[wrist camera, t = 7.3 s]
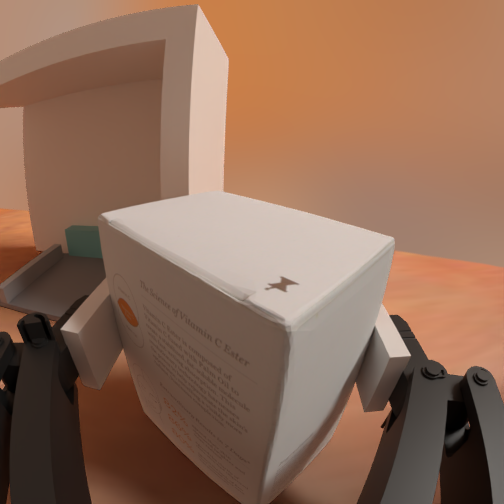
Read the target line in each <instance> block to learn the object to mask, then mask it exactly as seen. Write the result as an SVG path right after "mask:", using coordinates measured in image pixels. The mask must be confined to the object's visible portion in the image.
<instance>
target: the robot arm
mask: <svg viewBox="0 0 504 504" xmlns="http://www.w3.org/2000/svg"><path fill="white" fill-rule="evenodd" d="M17 327H18V329H19V332H20V334H21V336H22V339H23V341H24V343H13V341H12V339H11V337H10V335H9V334H8V333H6V332H0V381H1V380H2V381H3V383H4V384H5V387H4V389H3V390H2V389H1V388H0V504H6V500H7V494H8V488H9V483H10V496H11V504H92V503H91V498H90V494H89V489H88V483H87V478H86V472H85V466H84V459H83V452H82V444H81V434H80V423H79V409H78V390H77V386H76V384H75V381H76V379H77V377H78V376H79V377H80V379H81V381H82V383H83V385H84V386H87V387H90V388H94V389H97V390H100V389H101V387H102V386H103V384H104V382H105V380H106V378H107V376H108V374H109V372H110V371H111V369H112V367H113V365H114V363H115V361H116V360H117V358H118V356H119V354H120V352H121V351H122V349H123V346H122V342H121V339H120V335H119V331H118V327H117V323H116V319H115V315H114V311H113V307H112V302H111V298H110V293H109V288H108V283H107V278H105V279H104V280H103V281H102V282H101V283H100V285H99V286H98V287H97V288H96V289H95V290H94V291H93V292H92V293H91V295H90V296H89V295H84V296H83V297H81V298H79V299H78V300H76V301H75V302H74V303H73V304H72V305H71V306H70V309H68V310H67V311H66V312H65V314H63V315H62V316H61V318H60V319H59V320H58V321H57V322H56V323H55V324H54V326H53V327H51V324H50V321H49V319H48V316H47V315H46V314H44V313H41V312H35V313H31V314H28V315H26V316H24V317H23V318H22V319H20V320H19V322H18V324H17ZM356 384H357V388H358V391H359V395H360V399H361V402H362V406H363V409H364V412H372V411H381V410H384V408H385V406H386V404H387V403H388V401H389V402H390V404H391V407H392V409H391V411H390V413H389V415H388V416H387V418H386V419H385V421H384V423H383V424H382V426H381V428H384V426H385V428H384V431H383V434H382V437H381V441H380V444H379V447H378V450H377V453H376V456H375V459H374V461H373V464H372V467H371V470H370V472H369V475H368V477H367V480H366V483H365V485H364V487H363V490H362V492H361V495H360V497H359V499H358V502H357V504H432V503H433V498H434V494H435V490H436V485H437V480H438V475H439V470H440V488H441V504H504V404H503V401H502V398H501V395H500V393H499V390H498V387H497V385H496V382H495V379H494V377H493V376H492V374H491V373H490V372H489V371H488V370H486V369H484V368H482V367H478V366H474V367H471V368H469V369H468V370H467V372H466V374H465V375H464V376H458V375H450V374H448V373H447V371H446V369H445V368H444V367H443V366H442V365H441V364H440V363H438V362H435V361H433V360H428V358H427V356H426V354H425V353H424V351H423V349H422V347H421V346H420V344H419V342H418V341H417V339H416V338H415V336H414V334H413V332H411V329H410V327H409V326H408V324H407V322H406V321H404V320H403V319H402V318H401V317H400V316H398V315H389V314H388V313H387V311H386V309H385V307H384V306H383V304H382V303H381V307H380V310H379V314H378V317H377V320H376V323H375V326H374V329H373V332H372V336H371V339H370V342H369V345H368V348H367V351H366V354H365V357H364V360H363V363H362V366H361V369H360V371H359V374H358V377H357V379H356ZM468 422H469V424H470V427H469V424H468Z"/></svg>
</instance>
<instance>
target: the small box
mask: <svg viewBox="0 0 504 504" xmlns="http://www.w3.org/2000/svg"><path fill="white" fill-rule="evenodd" d="M98 228H99V235H100V242H101V250H102V256H103V261H104V267H105V272H106V278H107V283H108V288H109V293H110V298H111V302H112V307H113V311H114V315H115V319H116V323H117V327H118V331H119V335H120V339H121V342H122V346H123V349H124V353H125V356H126V359H127V363H128V366H129V369H130V373H131V376H132V379H133V382H134V385H135V388H136V391H137V394H138V397H139V399H140V402H141V405H142V408H143V411H144V413H145V414H146V415H147V416H148V417H149V418H150V419H151V420H152V421H153V422H154V423H155V425H156V426H157V427H158V428H159V429H160V430H161V431H162V432H163V433H164V434H165V435H166V436H167V437H168V438H169V439H170V441H171V442H172V443H173V444H174V445H175V446H176V447H177V448H178V449H179V450H180V451H181V452H182V453H183V454H184V455H185V456H187V457H188V458H189V459H190V460H191V461H192V462H193V463H194V464H195V465H196V466H197V467H198V468H199V469H200V470H201V471H203V472H204V473H205V474H206V475H207V476H208V477H209V478H210V479H212V480H213V481H214V482H215V483H216V484H218V485H219V486H220V487H221V488H222V489H224V490H225V491H226V492H227V493H229V494H230V495H231V496H232V497H234V498H235V499H236V500H237V501H239V502H240V503H241V504H269V503H270V502H271V501H272V500H273V499H275V498H276V497H277V496H278V495H279V494H280V493H281V492H282V491H283V490H284V489H285V488H286V487H287V486H288V485H289V484H290V483H291V482H292V481H293V480H294V479H295V478H296V477H297V476H298V475H299V474H300V473H301V472H302V471H303V470H304V469H305V468H306V467H307V466H308V465H309V464H310V463H311V461H312V460H313V459H314V458H315V457H316V456H317V455H318V454H319V453H320V451H321V450H322V449H323V448H324V447H325V446H326V444H327V443H328V442H329V441H330V440H331V438H332V436H333V434H334V432H335V429H336V427H337V425H338V423H339V421H340V419H341V416H342V414H343V412H344V409H345V407H346V404H347V402H348V400H349V397H350V395H351V392H352V390H353V387H354V384H355V382H356V379H357V377H358V374H359V371H360V369H361V366H362V363H363V360H364V357H365V354H366V351H367V348H368V345H369V342H370V339H371V336H372V332H373V329H374V326H375V323H376V320H377V317H378V314H379V310H380V307H381V303H382V300H383V296H384V292H385V288H386V284H387V280H388V276H389V272H390V268H391V263H392V258H393V254H394V246H395V240H394V238H393V237H390V236H386V235H383V234H380V233H376V232H373V231H369V230H366V229H363V228H359V227H356V226H352V225H348V224H345V223H342V222H338V221H335V220H332V219H328V218H325V217H321V216H318V215H314V214H310V213H306V212H303V211H299V210H295V209H291V208H287V207H284V206H280V205H276V204H271V203H268V202H264V201H260V200H255V199H251V198H248V197H243V196H239V195H235V194H231V193H226V192H222V191H210V192H203V193H198V194H192V195H187V196H182V197H177V198H171V199H166V200H161V201H156V202H150V203H146V204H141V205H136V206H132V207H127V208H123V209H118V210H114V211H110V212H106V213H102V214H101V215H99V217H98Z"/></svg>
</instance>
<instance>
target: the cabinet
mask: <svg viewBox="0 0 504 504" xmlns="http://www.w3.org/2000/svg"><path fill="white" fill-rule="evenodd" d="M228 64H229V59H228V57H227V55H226V53H225V52H224V50H223V48H222V46H221V44H220V42H219V41H218V39H217V37H216V35H215V33H214V31H213V30H212V28H211V26H210V24H209V23H208V21H207V19H206V17H205V16H204V14H203V12H202V10H201V9H200V7H199V5H198V4H197V5H186V6H177V7H169V8H162V9H155V10H149V11H143V12H139V13H134V14H128V15H124V16H120V17H115V18H111V19H107V20H104V21H100V22H97V23H93V24H89V25H86V26H83V27H80V28H77V29H74V30H71V31H68V32H65V33H62V34H59V35H57V36H54V37H52V38H49V39H46V40H44V41H41V42H39V43H37V44H35V45H32V46H30V47H28V48H25V49H23V50H21V51H19V52H17V53H15V54H13V55H11V56H9V57H7V58H5V59H3V60H1V61H0V108H8V107H24V110H23V146H24V166H25V179H26V189H27V198H28V205H29V212H30V219H31V225H32V231H33V236H34V241H35V246H36V251H44V252H42V253H41V254H40V255H38V256H37V257H35V258H34V259H33V260H31V261H30V262H28V263H27V264H26V265H24V266H23V267H22V268H20V269H19V270H18V271H17V272H15V273H14V274H13V275H11V276H10V277H9V278H7V279H6V280H5V281H4V282H2V283H1V284H0V306H2V307H6V308H9V309H13V310H16V311H20V312H23V313H27V314H31V313H35V312H41V313H44V314H46V315H47V316H48V319H50V320H54V321H58V320H59V319H60V318H61V316H62V315H63V314H65V312H66V311H67V310H68V309H70V306H71V305H72V304H73V303H74V302H75V301H76V300H78V299H79V298H81V297H83V296H84V295H89V296H90V295H91V293H92V292H93V291H94V290H95V289H96V288H97V287H98V286H99V285H100V283H101V282H102V281H103V280H104V279H105V278H106V272H105V267H104V261H103V256H102V250H101V242H100V235H99V228H98V217H99V215H101V214H102V213H106V212H110V211H114V210H118V209H123V208H127V207H132V206H136V205H141V204H146V203H150V202H156V201H161V200H166V199H171V198H177V197H182V196H187V195H192V194H198V193H203V192H210V191H222V192H223V178H224V147H225V146H224V145H225V123H226V101H227V100H226V99H227V82H228Z"/></svg>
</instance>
